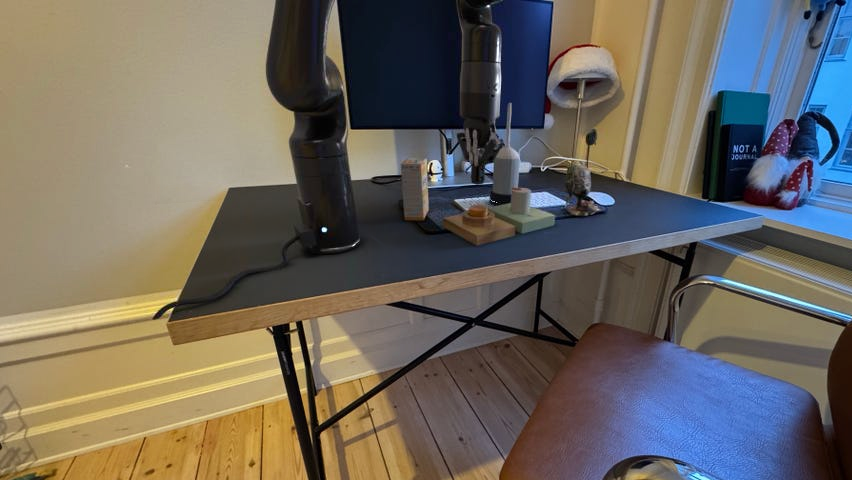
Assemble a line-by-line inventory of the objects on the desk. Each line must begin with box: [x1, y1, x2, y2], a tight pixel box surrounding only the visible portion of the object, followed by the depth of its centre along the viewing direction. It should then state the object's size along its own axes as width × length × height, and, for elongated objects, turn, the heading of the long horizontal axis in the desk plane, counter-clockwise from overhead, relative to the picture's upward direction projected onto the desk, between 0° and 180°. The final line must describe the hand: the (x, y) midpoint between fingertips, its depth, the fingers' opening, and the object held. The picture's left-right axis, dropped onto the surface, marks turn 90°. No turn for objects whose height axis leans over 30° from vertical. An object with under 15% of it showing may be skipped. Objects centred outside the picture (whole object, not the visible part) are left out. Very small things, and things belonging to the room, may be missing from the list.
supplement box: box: [400, 157, 430, 221], centre depth 86 cm, size 8×5×13 cm, turn 179°
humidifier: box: [489, 102, 521, 207], centre depth 95 cm, size 8×8×25 cm
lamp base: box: [442, 209, 516, 246], centre depth 79 cm, size 10×13×4 cm
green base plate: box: [487, 203, 556, 235], centre depth 86 cm, size 10×13×3 cm
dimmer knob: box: [511, 187, 532, 214], centre depth 84 cm, size 4×4×5 cm
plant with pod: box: [564, 128, 602, 217], centre depth 90 cm, size 8×11×20 cm
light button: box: [468, 204, 489, 217], centre depth 78 cm, size 4×4×2 cm
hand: (477, 183), depth 76 cm, fingers closed
